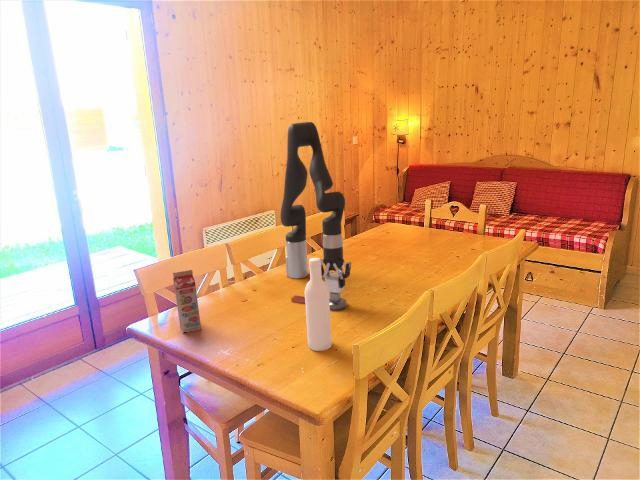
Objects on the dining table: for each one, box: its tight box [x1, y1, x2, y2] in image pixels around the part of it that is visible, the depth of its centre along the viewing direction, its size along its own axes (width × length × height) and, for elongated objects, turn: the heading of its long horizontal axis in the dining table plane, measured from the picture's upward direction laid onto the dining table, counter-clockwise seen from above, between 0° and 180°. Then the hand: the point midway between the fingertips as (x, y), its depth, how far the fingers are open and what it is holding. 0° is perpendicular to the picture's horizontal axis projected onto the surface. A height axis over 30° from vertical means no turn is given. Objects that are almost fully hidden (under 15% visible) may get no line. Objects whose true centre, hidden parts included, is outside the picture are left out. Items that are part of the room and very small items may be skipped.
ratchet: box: [291, 291, 348, 312], centre depth 194 cm, size 23×8×6 cm, turn 64°
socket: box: [325, 271, 345, 293], centre depth 188 cm, size 6×6×6 cm
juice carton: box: [172, 269, 202, 334], centre depth 177 cm, size 7×7×22 cm
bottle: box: [304, 257, 333, 352], centre depth 157 cm, size 8×8×30 cm
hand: (334, 286), depth 189 cm, fingers closed on socket, 5 cm apart
